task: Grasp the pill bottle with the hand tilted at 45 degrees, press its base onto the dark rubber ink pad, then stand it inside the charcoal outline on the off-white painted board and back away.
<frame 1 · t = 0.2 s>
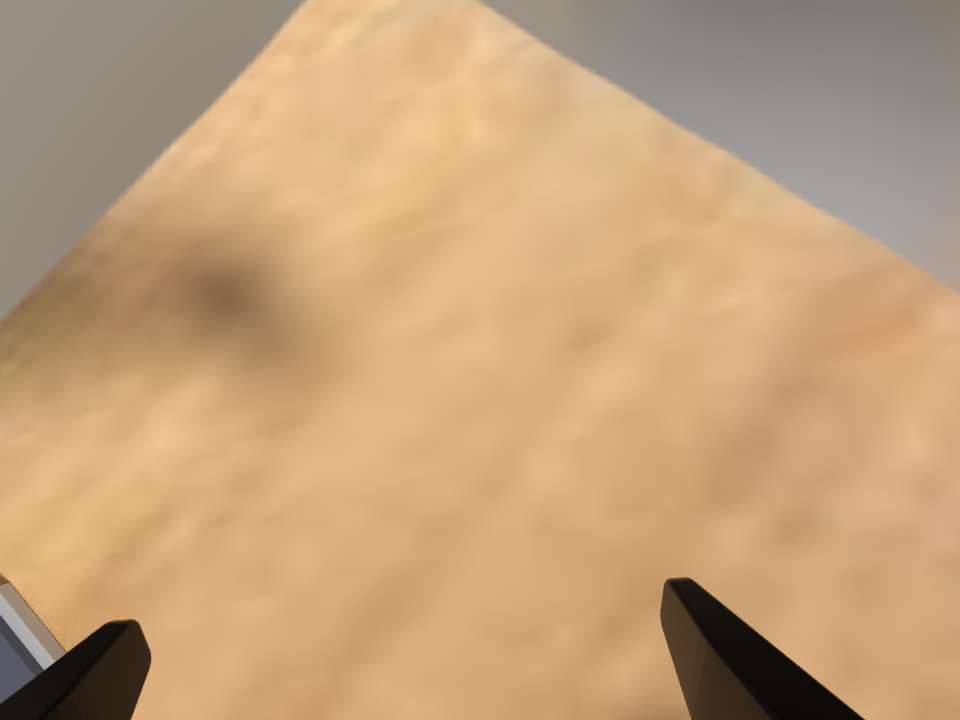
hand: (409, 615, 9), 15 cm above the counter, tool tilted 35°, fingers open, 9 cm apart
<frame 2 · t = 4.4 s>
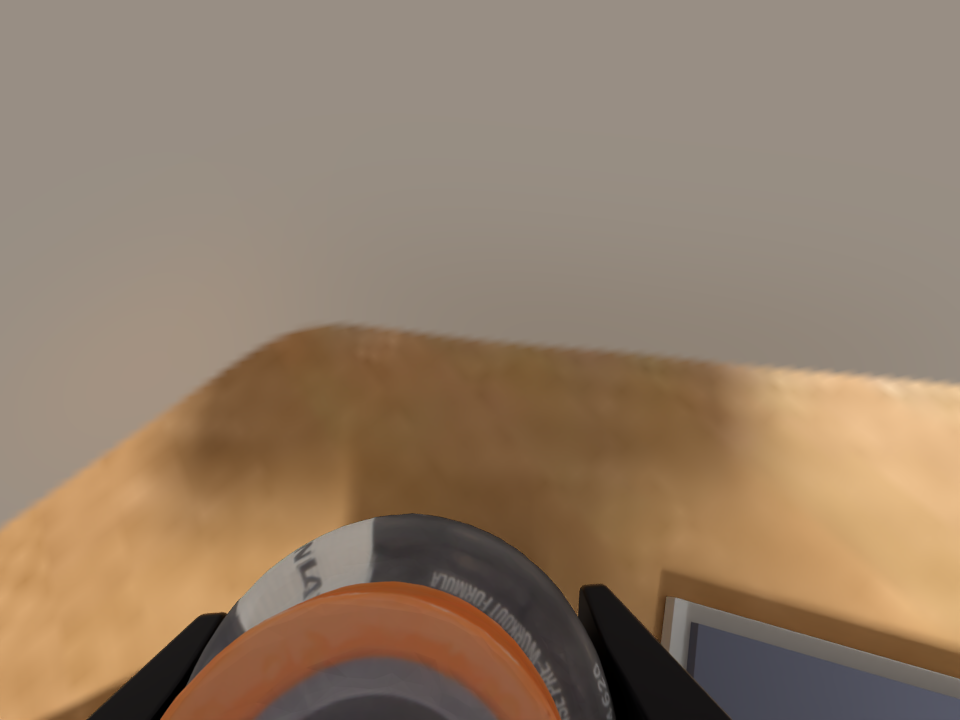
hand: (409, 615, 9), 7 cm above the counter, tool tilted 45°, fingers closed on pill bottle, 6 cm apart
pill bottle: (436, 650, 15), on the counter, touching gripper
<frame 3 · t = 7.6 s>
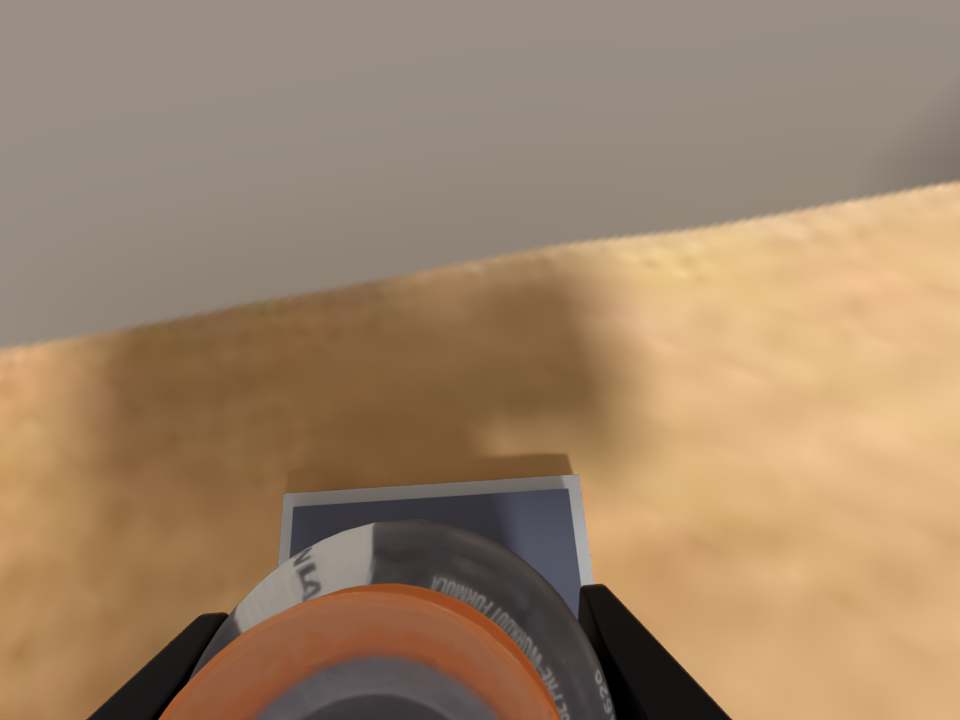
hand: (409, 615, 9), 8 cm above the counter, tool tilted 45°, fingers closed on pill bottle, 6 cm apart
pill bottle: (435, 663, 14), point 1 cm above the counter, touching gripper, ink pad
ink pad: (439, 648, 15), on the counter
when the fingers open (8 cm above the counter, at t = 11.1 s): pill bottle stays where it is, resting on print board.
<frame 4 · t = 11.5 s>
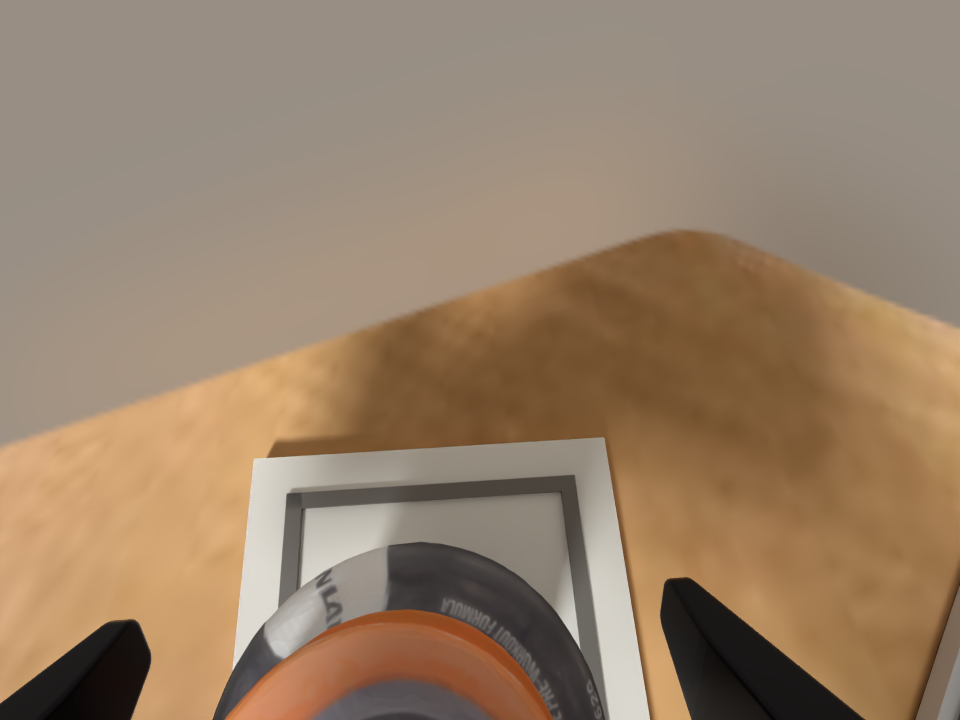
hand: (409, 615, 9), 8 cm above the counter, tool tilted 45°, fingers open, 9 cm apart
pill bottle: (438, 663, 15), point 1 cm above the counter, touching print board
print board: (439, 642, 16), on the counter
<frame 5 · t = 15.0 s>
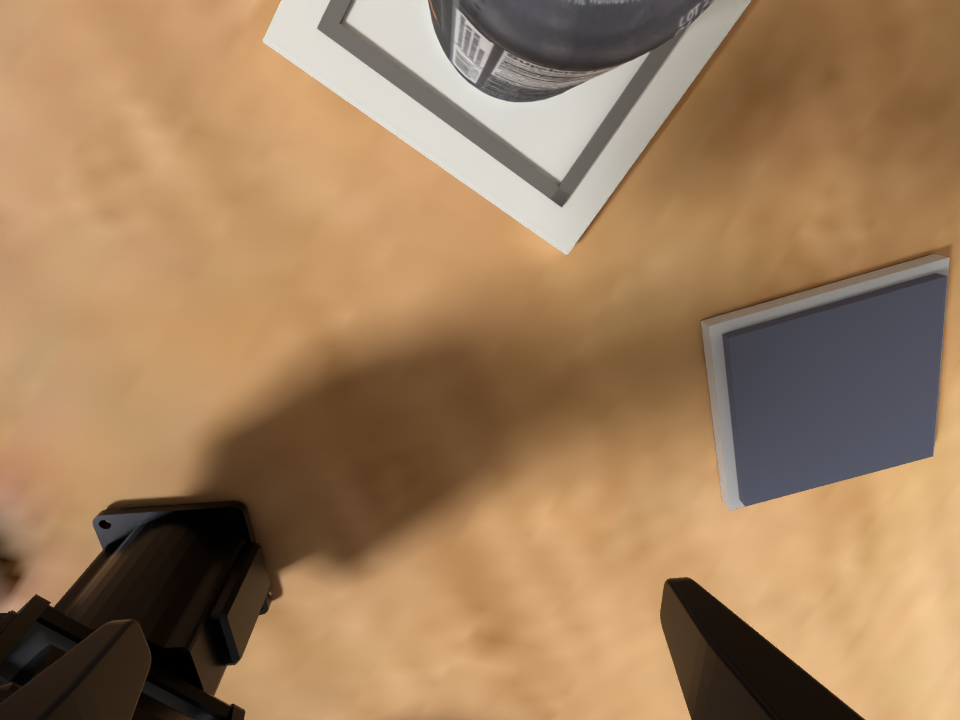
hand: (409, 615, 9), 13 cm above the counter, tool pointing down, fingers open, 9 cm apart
ink pad: (818, 388, 23), on the counter
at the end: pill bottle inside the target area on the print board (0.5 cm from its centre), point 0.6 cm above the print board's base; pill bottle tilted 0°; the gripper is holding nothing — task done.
